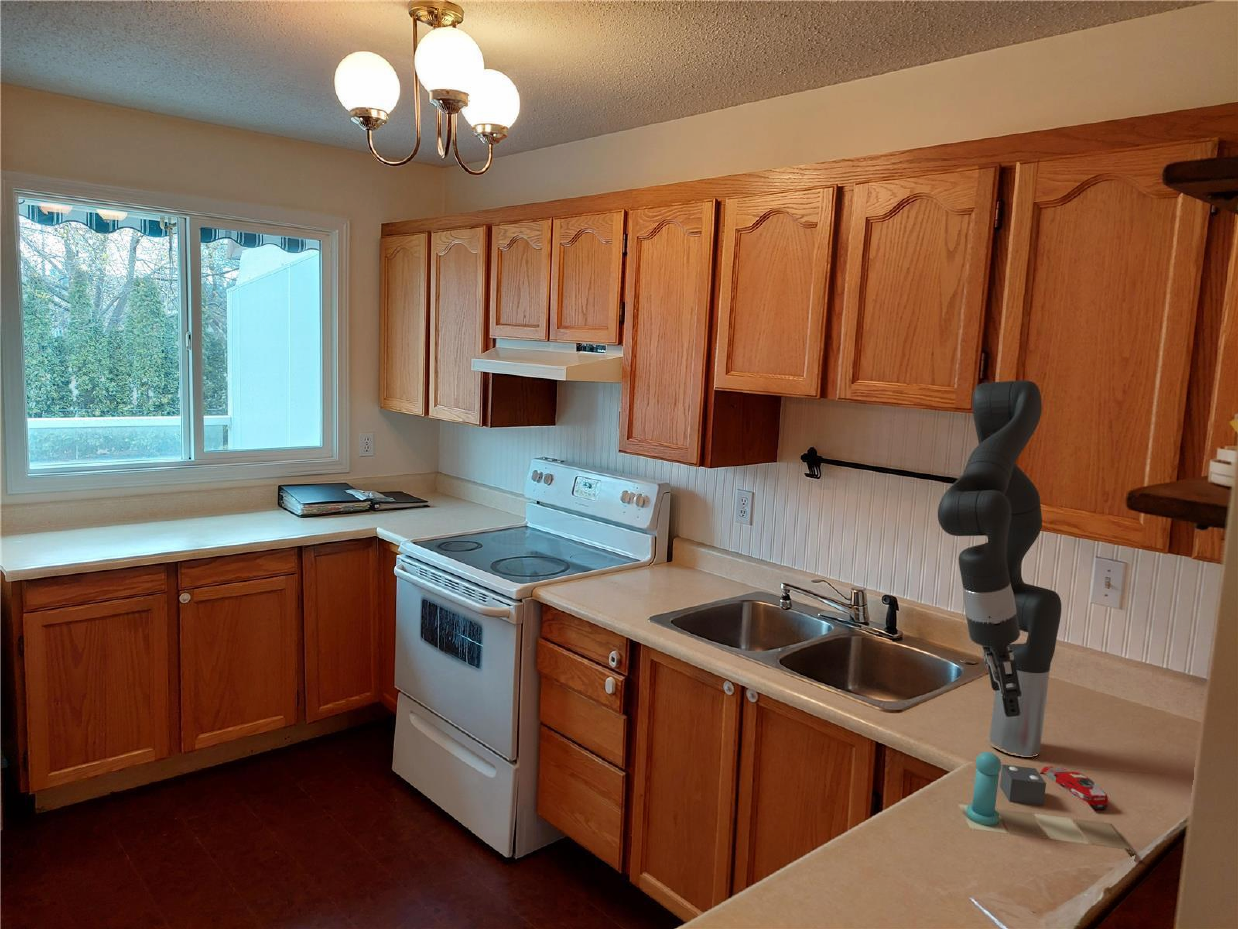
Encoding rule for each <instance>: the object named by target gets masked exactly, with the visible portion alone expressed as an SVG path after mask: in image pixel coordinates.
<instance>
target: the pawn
mask: <svg viewBox="0 0 1238 929" xmlns="http://www.w3.org/2000/svg"><path fill="white" fill-rule="evenodd" d="M975 767H976V769H975V775H974V776H975V778H974V785H973V788H974V789H973V793H972V794H973V795H972V804H967V805H968V806H967V814H966V815H967V817H968V818H969V819H970V820H971V821H973V822H975V823H977V824H980V825H984V826H995V825H997V824H998V821H999V819H1000V815H999V813H998V812H997V810H996V805H997V804H996V802H997V793H998V785H999V779H1000V772H1001V771H1002V761H1001V759H1000V758H999V756H997V755H996V754H994V753H992V752H990V751H985V752H981V753H980V754H978V755H977V757H976V760H975Z"/></svg>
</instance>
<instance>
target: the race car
mask: <svg viewBox="0 0 1238 929" xmlns="http://www.w3.org/2000/svg"><path fill="white" fill-rule="evenodd" d="M1039 774H1040V775H1044V776H1046V777H1047V778H1048V779H1050V780H1051V781H1054V782H1055V783H1056V784H1058V785H1059V786H1061V787H1062V788H1064V789H1065V790H1067V791H1068V792H1069V793H1071V794H1072V795H1073V794H1074V795H1075V797H1077V798H1078V799H1079V800H1082V801H1084V802H1087V804H1088V806H1090V808H1091V809H1092V810H1102V809H1103V810H1104V809H1107V808H1108V806H1109V799H1108V798H1109V797H1108V795H1107V794H1108V793H1106V792H1105V790H1103V789H1102V788H1101V787H1100V786H1099V785H1098V784H1096V783H1095V782H1094V781H1093V780H1092V779H1091V778H1090V777H1089V776H1086V775H1085V774H1084V773H1081V772H1078V771H1070V770H1067V769H1065V768H1063V767H1058V766H1053V765H1051V766H1045V767H1043V768H1042V769H1040V771H1039Z"/></svg>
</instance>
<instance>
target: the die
mask: <svg viewBox="0 0 1238 929" xmlns="http://www.w3.org/2000/svg"><path fill="white" fill-rule="evenodd" d="M1000 772H1001V773H1000V782H999V787H1000V789H1001V791H1002V792H1003V794H1004V796H1005V797H1006V799H1007V800H1008V802H1009V803H1017V804H1025V805H1033V806H1041V807H1043V806H1044V805H1045V804H1044V803H1045V795H1046V787H1047V782H1046V781H1045V779H1044V778H1043V777H1042V776H1041V775H1042V774H1040V772H1038V770H1037V769H1036V768H1034V767H1028V766H1027V767H1026V766H1017V765H1012V764H1011V765H1009V764H1004V763H1003V764H1002V763H1001V771H1000Z"/></svg>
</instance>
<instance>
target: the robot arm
mask: <svg viewBox="0 0 1238 929" xmlns="http://www.w3.org/2000/svg"><path fill="white" fill-rule="evenodd" d="M971 398H972V400H971V404H972V405H971V406H972V407H971V408H972V415H973V422H974V426H975V432H976V437H977V442H978V445H977V446H976V447H975V448H974V449H973V451H972V452H971V454H970V456H969V458H968V459H967V463H966V465H965V468H964V470H963V472H962V475H960V476H959V478H957V479H956V480H955V482H953V484H952V485H951V486H950V487H949V488H948V489H947V490H946V491H945V492H944V494H943V496H942V497H941V499H940V501H939V504H938V508H937V519H938V524H939V525H940V527H941V529H942V530H943V531H944V532H945V533H947V534H948V535H951V536H954V537H975V536H976V537H979V536H981V537H983V536H987V542H985V543H981V544H977V545H972V546H969V547H967V548H964V549H963V550H962V551H961V552H960V553H959V555H958V567H959V572H960V577H961V582H962V583H961V584H962V589H963V590H962V592H963V593H962V596H963V605H964V612H965V617H966V618H965V619H966V623H967V629H968V634H969V638H970V640H971V641H972V642H973V643H974V644H976V645H979V646H981V650H982V658H983V660H984V663H985V667H986V669H987V670H988V675H989V680H990V686H991V689H992V691H994V699H993V707H992V714H991V715H992V716H991V721H990V722H991V724H990V733H989V739H990V742H991V743H993V744H994V745H995V746H998V747H999V748H1000V749H1004V750H1006V751H1007V752H1010V753H1016V754H1018V755H1023V756H1033V755H1036V754H1038V753H1039V752H1041V746H1042V736H1043V730H1044V721H1045V713H1046V712H1045V711H1046V706H1047V696H1048V687H1049V679H1050V672H1051V671H1050V670H1051V664H1052V661H1053V658H1054V654H1055V651H1056V643H1057V639H1058V635H1059V634H1058V632H1059V628H1060V623H1061V618H1062V601H1061V597H1060V595H1059V594H1058V592H1056V591H1054V590H1053V589H1049V588H1045V587H1041V586H1037V585H1033V584H1029V583H1025V582H1024V580H1023V576H1022V564H1023V559H1024V558H1025V555H1026V554H1027V553H1028V552H1029V550H1030V549H1031V547H1032V546H1033V545H1034V543H1035V542H1036V540H1037V539H1038V537H1039V535H1040V533H1041V531H1042V526H1043V515H1042V506H1041V505H1042V504H1041V497H1040V494H1039V491H1038V489H1037V487H1036V486H1035V484H1034V483H1033V482H1032V480H1031V479H1030V478H1029V476H1027V474H1026V473H1025V472H1024V471H1023V470H1022V469H1021V467H1020V466H1018V464H1017V463H1016V462H1017V460H1018V459H1019V457H1020V455H1021V454H1022V452H1023V451H1024V449H1025V448H1026V446H1027V444H1028V443H1029V441H1030V439H1031V438H1032V436H1033V435H1034V433H1035V431H1036V429H1037V428H1038V426H1039V423H1040V421H1041V417H1042V410H1043V408H1042V407H1043V406H1042V402H1043V401H1042V395H1041V391H1040V388H1039V386H1038V384H1036V382H1034V381H1032V380H1031V381H1030V380H1008V381H1007V380H1006V381H993V382H983V383H979V384H977V385H976V386H975V388H974V390H973V393H972V397H971ZM1021 631H1022V632H1023V633H1027V637H1026V638H1027V639H1026V641H1025V642H1024V643H1015V642H1016V641H1017V640H1018V639H1019V638H1020V636H1021Z"/></svg>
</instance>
